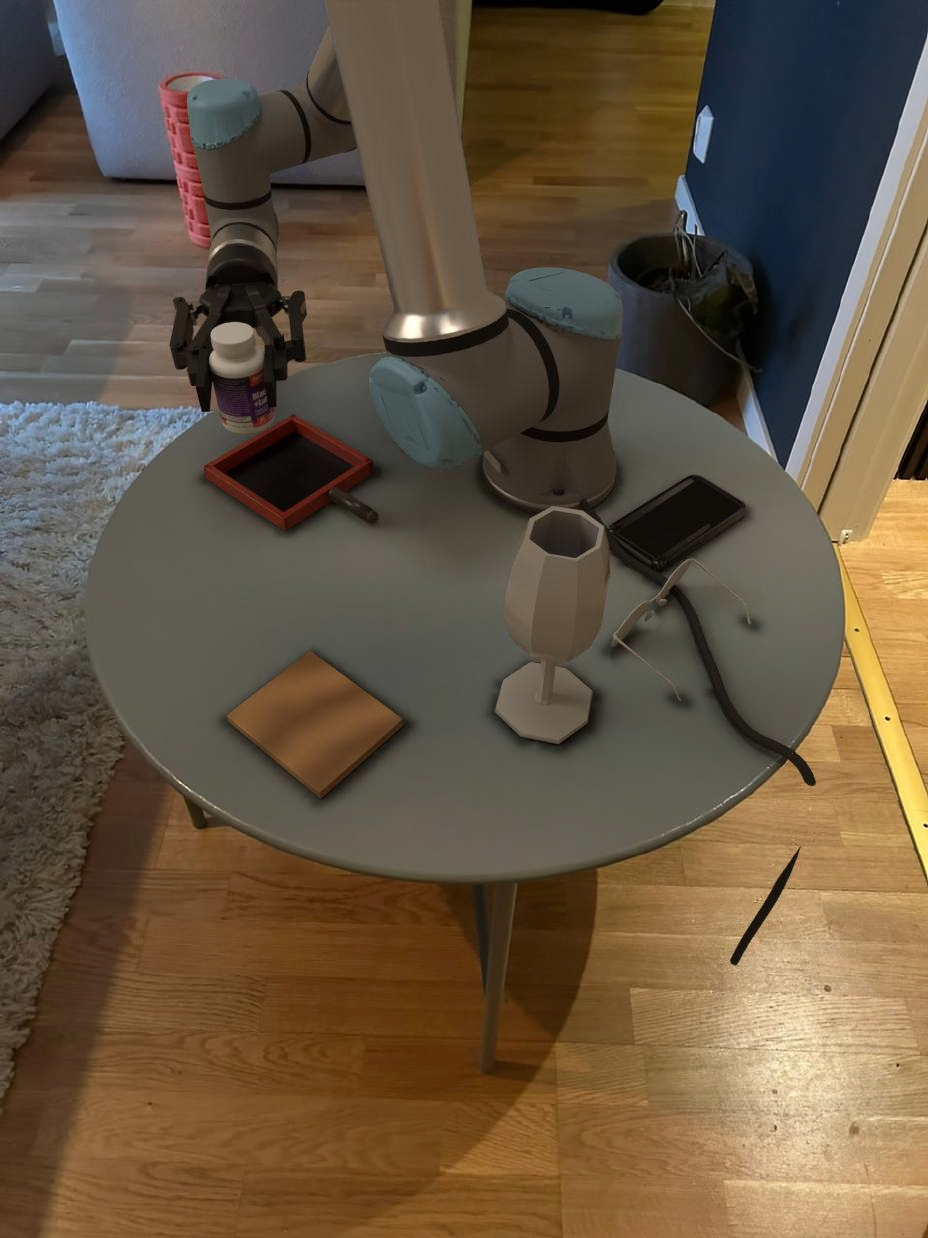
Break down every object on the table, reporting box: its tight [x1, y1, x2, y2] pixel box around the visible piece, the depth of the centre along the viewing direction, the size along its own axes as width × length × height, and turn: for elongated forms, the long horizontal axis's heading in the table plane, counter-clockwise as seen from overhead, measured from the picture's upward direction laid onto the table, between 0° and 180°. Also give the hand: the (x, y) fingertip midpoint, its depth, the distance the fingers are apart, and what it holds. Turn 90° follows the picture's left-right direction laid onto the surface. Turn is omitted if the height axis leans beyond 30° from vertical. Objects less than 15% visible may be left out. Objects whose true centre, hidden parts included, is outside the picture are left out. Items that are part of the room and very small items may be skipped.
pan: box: [202, 413, 380, 532], centre depth 102 cm, size 21×14×2 cm, turn 49°
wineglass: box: [494, 506, 611, 745], centre depth 74 cm, size 9×9×21 cm
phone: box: [607, 474, 746, 573], centre depth 98 cm, size 8×1×15 cm
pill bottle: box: [209, 322, 276, 435], centre depth 88 cm, size 5×5×10 cm
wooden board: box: [226, 650, 404, 799], centre depth 80 cm, size 12×10×1 cm
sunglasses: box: [611, 557, 752, 702], centre depth 86 cm, size 14×8×5 cm, turn 139°
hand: (236, 396), depth 83 cm, fingers closed on pill bottle, 5 cm apart
